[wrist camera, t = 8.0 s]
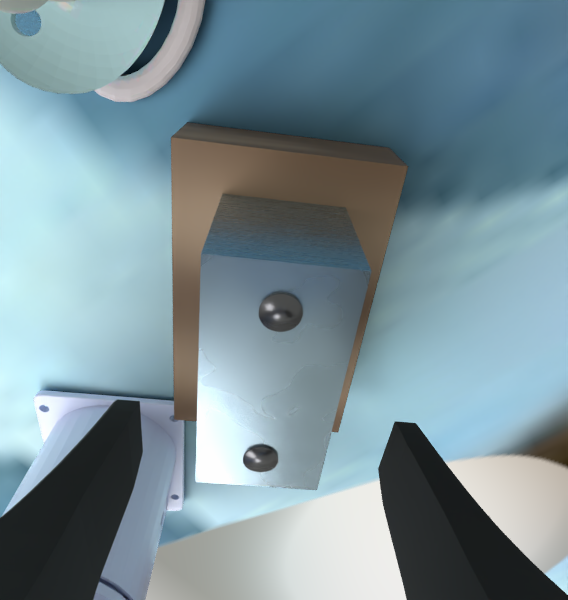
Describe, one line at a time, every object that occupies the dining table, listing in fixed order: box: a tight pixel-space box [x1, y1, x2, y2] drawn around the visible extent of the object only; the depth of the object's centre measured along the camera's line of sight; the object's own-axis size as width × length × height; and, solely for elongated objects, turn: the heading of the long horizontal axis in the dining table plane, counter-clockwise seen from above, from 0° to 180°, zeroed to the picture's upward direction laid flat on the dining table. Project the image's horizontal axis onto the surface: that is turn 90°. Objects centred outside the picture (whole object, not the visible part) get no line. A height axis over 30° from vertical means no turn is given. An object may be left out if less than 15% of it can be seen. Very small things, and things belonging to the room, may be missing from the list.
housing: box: [195, 194, 372, 490], centre depth 16 cm, size 4×9×5 cm, turn 173°
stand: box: [171, 122, 408, 432], centre depth 19 cm, size 13×8×3 cm, turn 173°
